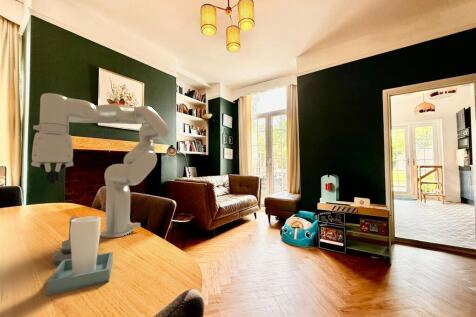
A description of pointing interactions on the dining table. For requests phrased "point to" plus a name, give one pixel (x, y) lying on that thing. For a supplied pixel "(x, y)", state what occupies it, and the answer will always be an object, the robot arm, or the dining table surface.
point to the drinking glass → (84, 243)
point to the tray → (79, 275)
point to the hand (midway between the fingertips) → (52, 183)
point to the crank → (67, 241)
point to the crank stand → (60, 257)
